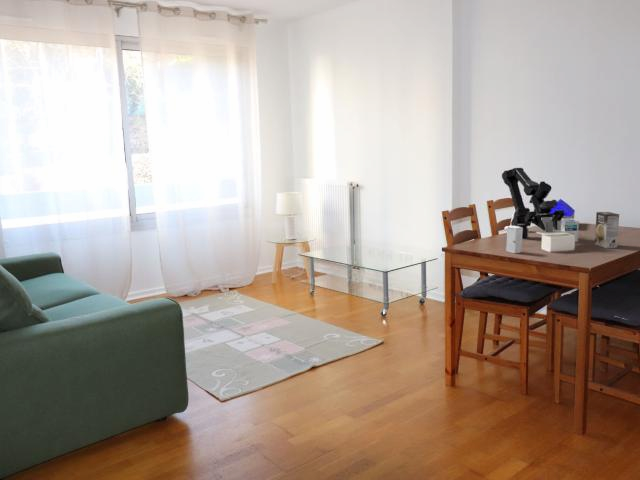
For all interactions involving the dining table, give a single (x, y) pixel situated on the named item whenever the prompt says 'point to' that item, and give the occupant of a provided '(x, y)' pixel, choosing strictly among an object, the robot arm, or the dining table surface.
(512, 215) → the seated beast figurine
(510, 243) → the skincare box
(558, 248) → the carton
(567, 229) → the light bulb box
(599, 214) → the coffee box
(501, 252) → the dining table surface
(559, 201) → the house
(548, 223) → the carton lid
